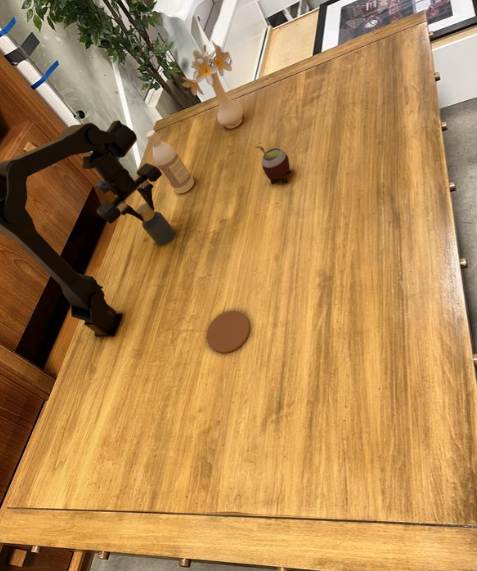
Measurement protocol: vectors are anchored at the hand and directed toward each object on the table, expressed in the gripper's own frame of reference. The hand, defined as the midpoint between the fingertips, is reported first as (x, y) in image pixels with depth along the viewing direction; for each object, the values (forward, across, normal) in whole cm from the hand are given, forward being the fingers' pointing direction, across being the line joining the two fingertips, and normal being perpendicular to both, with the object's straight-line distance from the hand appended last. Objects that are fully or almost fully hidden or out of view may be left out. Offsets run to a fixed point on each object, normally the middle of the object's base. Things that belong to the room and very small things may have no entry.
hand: (147, 215), depth 106 cm
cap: (0, 0, 0) cm, 0 cm away
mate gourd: (+9, -31, +19) cm, 38 cm away
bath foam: (+9, -18, -11) cm, 23 cm away
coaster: (+9, +11, +40) cm, 43 cm away
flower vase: (+9, -47, -17) cm, 51 cm away
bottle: (+9, 0, 0) cm, 9 cm away
